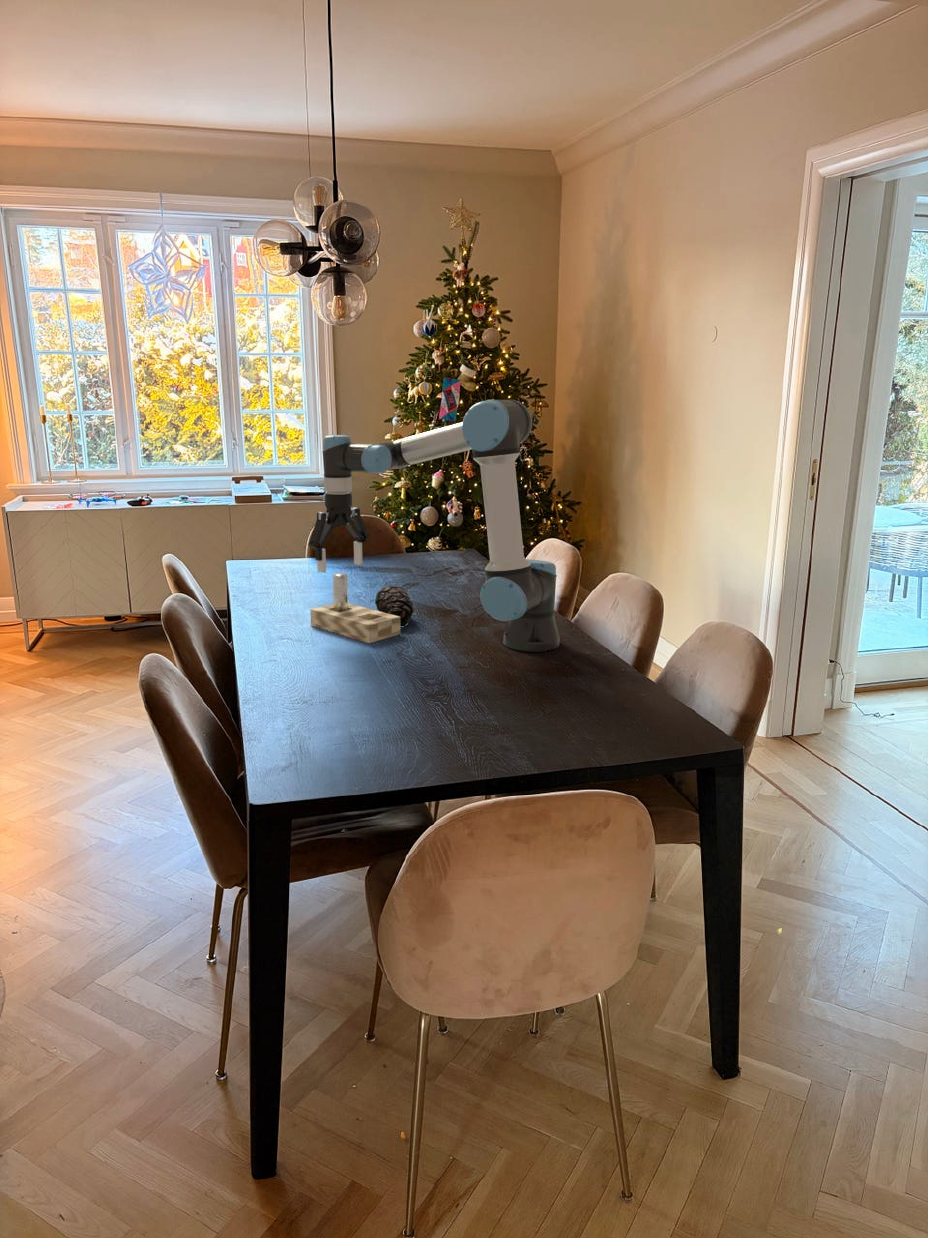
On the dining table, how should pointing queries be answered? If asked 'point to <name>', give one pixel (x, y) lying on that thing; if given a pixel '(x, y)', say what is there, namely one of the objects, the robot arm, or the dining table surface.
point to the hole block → (356, 622)
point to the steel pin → (340, 592)
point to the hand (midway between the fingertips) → (340, 568)
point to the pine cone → (395, 603)
